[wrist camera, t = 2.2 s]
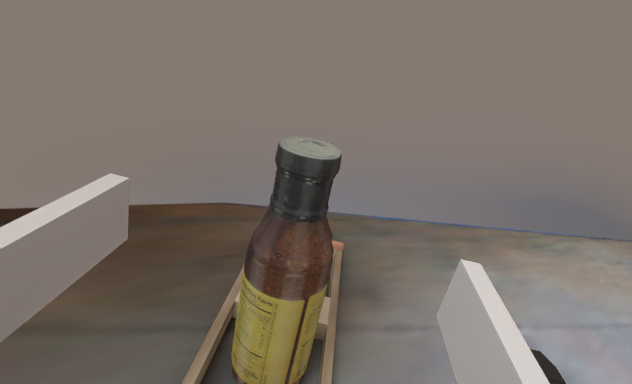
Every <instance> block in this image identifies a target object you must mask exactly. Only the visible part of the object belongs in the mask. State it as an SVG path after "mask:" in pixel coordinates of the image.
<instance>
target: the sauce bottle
mask: <svg viewBox="0 0 632 384" xmlns="http://www.w3.org/2000/svg"><path fill="white" fill-rule="evenodd" d="M275 161H276V165H277V171H276V178H275V184H274V190H273V193H272V195H271V198H270V205H269V207H268V209H267V211H266V213H265V215H264V217H263V219H262V221H261V223H260V225H259V226H258V228H257V229H256V230H255V232H254V233H253V236H252V238H251V240H250V243H249V245H248V247H247V250H246V253H245V258H244V266H243V273H242V281H241V289H240V296H239V303H238V310H237V318H236V325H235V332H234V339H233V346H232V353H231V358H232V372H233V377H234V379H235V380H236V382H237V383H238V384H299V383H300V382H301V380H302V378H303V375H304V372H305V371H306V368H307V364H308V361H309V356H310V353H311V349H312V345H313V341H314V336H315V332H316V328H317V324H318V320H319V316H320V312H321V308H322V304H323V301H324V297H325V292H326V288H327V285H328V281H329V270H330V266H331V263H332V260H333V254H334V249H333V245H332V233H331V230H330V227H329V224H328V220H327V217H326V213H327V210H328V200H329V195H330V191H331V186H332V183H333V179H334V177H335V176H336V174H337V173H338V172H339V169H340V162H341V151H340V150H339V149H338V148H336V147H335V146H333V145H331V144H328V143H326V142H322V141H319V140H315V139H310V138H305V137H287V138H284V139H282V140H281V141H280V142H279V144H278V149H277V153H276V157H275Z"/></svg>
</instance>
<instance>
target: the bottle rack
mask: <svg viewBox="0 0 632 384" xmlns="http://www.w3.org/2000/svg"><path fill="white" fill-rule="evenodd" d="M343 244H344V243H341V242H337V241H334V240H332V245H333V249H334V254H333V260H332V269H331V277H330V285H329V294H328V297H324V301H323V304H322V308H321V312H320V316H319V320H318V324H317V328H316V332H315V336H314V339H318V340H321V341H323V342H322V351H321V359H320V367H319V375H318V383H317V384H331V380H332V368H333V356H334V343H335V331H336V319H337V307H338V295H339V282H340V270H341V258H342V249H343ZM242 273H243V268H242V270H241V272H240V274H239V276H238V278H237V279H236V281H235V283H234V285H233V287H232V289H231V291H230V293H229V295H228V296H227V298H226V300H225V302H224V304H223V306H222V308H221V310H220V312H219V313H218V315H217V317H216V319H215V321H214V323H213V325H212V327H211V329H210V331H209V332H208V334H207V336H206V338H205V340H204V342H203V344H202V346H201V348H200V349H199V351H198V353H197V355H196V357H195V359H194V361H193V363H192V365H191V366H190V368H189V370H188V372H187V374H186V376H185V378H184V380H183V382H182V383H181V384H200V383H201V381H202V379H203V377H204V375H205V373H206V371H207V369H208V366H209V364H210V362H211V360H212V358H213V356H214V354H215V352H216V349H217V347H218V345H219V343H220V341H221V339H222V337H223V335H224V333H225V330H226V328H227V326H228V324H229V322H230V320H231V318H232V317H233V318H237V310H238V303H239V296H240V289H241V281H242Z"/></svg>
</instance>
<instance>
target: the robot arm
mask: <svg viewBox="0 0 632 384" xmlns="http://www.w3.org/2000/svg"><path fill="white" fill-rule="evenodd" d="M128 208H129V178H127V177H123V176H118V175H114V174H109V175H106V176H104V177H102V178H100V179H98V180H96V181H94V182H92V183H90V184H88V185H86V186H84V187H82V188H80V189H78V190H76V191H74V192H71V193H69V194H67V195H65V196H63V197H61V198H59V199H57V200H55V201H53V202H51V203H49V204H47V205H45V206H43V207H41V208H39V209H37V210H35V211H33V212H31V213H29V214H27V215H24V216H22V217H20V218H18V219H16V220H14V221H7V222H3V223H0V342H2V341H3V340H4V339H5V338H6V337H8V336H9V335H10V334H11V333H13V332H14V331H15V330H16V329H18V328H19V327H20V326H21V325H22V324H24V323H25V322H26V321H27V320H29V319H30V318H31V317H32V316H34V315H35V314H36V313H37V312H38V311H40V310H41V309H42V308H43V307H45V306H46V305H47V304H48V303H50V302H51V301H52V300H53V299H54V298H56V297H57V296H58V295H59V294H61V293H62V292H63V291H64V290H66V289H67V288H68V287H69V286H70V285H72V284H73V283H74V282H75V281H77V280H78V279H79V278H80V277H82V276H83V275H84V274H85V273H86V272H88V271H89V270H90V269H91V268H93V267H94V266H95V265H96V264H98V263H99V262H100V261H101V260H103V259H104V258H105V257H106V256H107V255H109V254H110V253H111V252H112V251H114V250H115V249H116V248H117V247H119V246H120V245H121V244H122V243H123V242H125V241H126V240H127V239H128ZM437 319H438V322H439V325H440V329H441V332H442V336H443V339H444V342H445V346H446V349H447V352H448V356H449V359H450V362H451V366H452V369H453V372H454V376H455V379H456V382H457V384H566V383H565V381H564V379H563V378H562V376H561V375H560V373H559V371H558V370H557V368H556V367H555V366H554V365H553V364H552V363H551V362H550V361H549V360H548V359H547V358H546V357H545V356H544V355H543V354H542V353H541V352H540V351H536V350H532V349H529V347H528V345H527V343H526V342H525V340H524V338H523V336H522V335H521V333H520V331H519V330H518V328H517V326H516V324H515V323H514V321H513V319H512V317H511V316H510V314H509V312H508V311H507V309H506V307H505V305H504V304H503V302H502V300H501V299H500V297H499V295H498V293H497V292H496V290H495V288H494V286H493V285H492V283H491V281H490V280H489V278H488V276H487V274H486V273H485V271H484V269H483V268H482V266H481V264H479V263H475V262H471V261H466V260H462V259H460V262H459V264H458V267H457V269H456V271H455V274H454V276H453V278H452V281H451V283H450V285H449V288H448V290H447V292H446V295H445V297H444V299H443V302H442V304H441V306H440V309H439V311H438V313H437Z"/></svg>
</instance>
